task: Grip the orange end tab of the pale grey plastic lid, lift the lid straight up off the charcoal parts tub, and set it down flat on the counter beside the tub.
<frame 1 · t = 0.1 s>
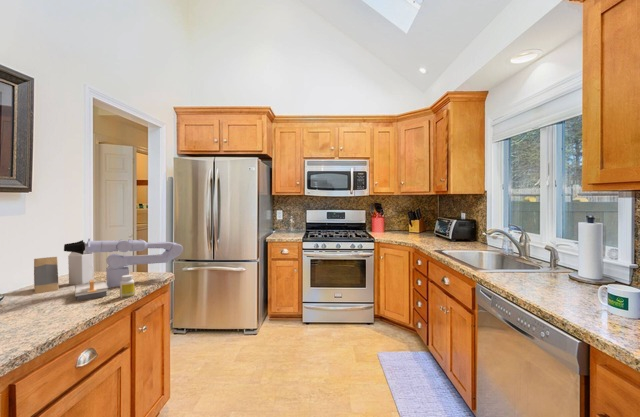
hand: (64, 247, 132), 22 cm above the table, tool horizontal, fingers open, 7 cm apart
domed metal puck: (91, 292, 132), resting on tub
milk carton: (81, 283, 150), on the table
sandwich container: (46, 290, 138), on the table
supplement bottle: (127, 298, 127), on the table
lid: (91, 288, 129), point 3 cm above the table, touching tub
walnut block: (91, 295, 127), resting on tub
tub: (91, 295, 129), on the table
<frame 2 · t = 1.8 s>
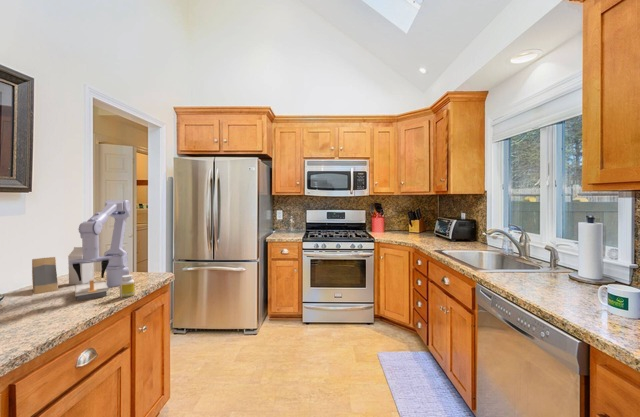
hand: (91, 279, 126), 9 cm above the table, tool pointing down, fingers open, 7 cm apart
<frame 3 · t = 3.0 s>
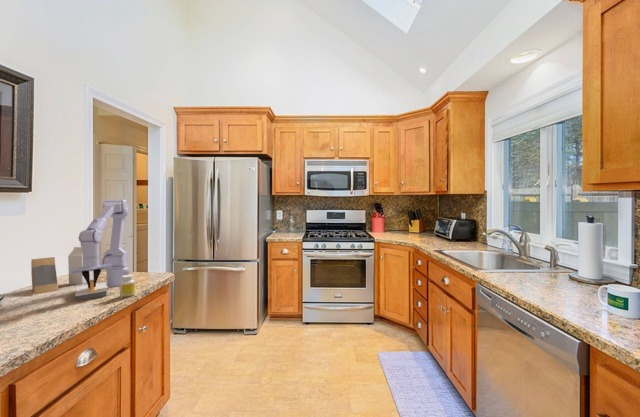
hand: (91, 287, 126), 5 cm above the table, tool pointing down, fingers closed on lid
lid: (91, 288, 129), point 3 cm above the table, touching gripper, tub
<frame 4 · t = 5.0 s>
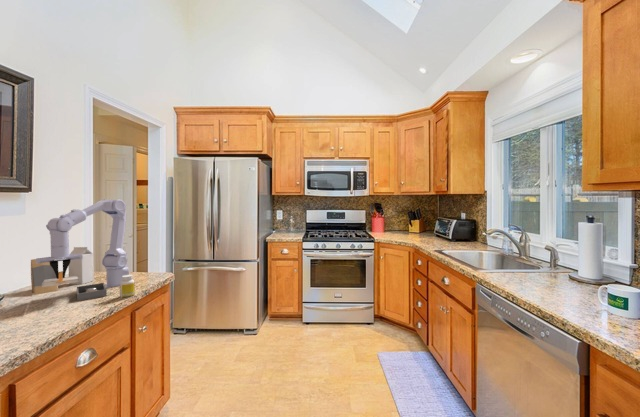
hand: (60, 278, 120), 10 cm above the table, tool pointing down, fingers closed on lid
lid: (61, 281, 124), point 8 cm above the table, tilted 6°, touching gripper
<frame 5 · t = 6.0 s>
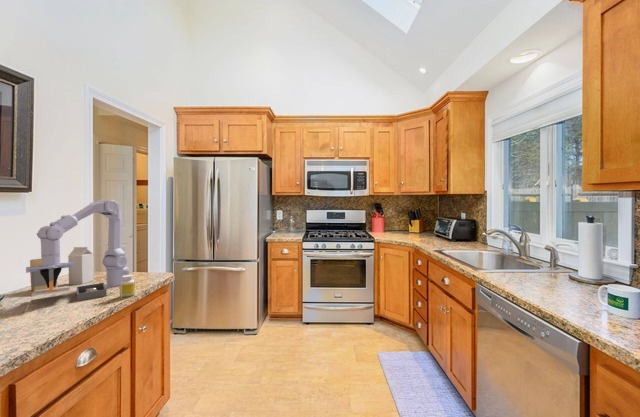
hand: (51, 286, 119), 7 cm above the table, tool pointing down, fingers closed on lid
lid: (52, 290, 122), point 5 cm above the table, tilted 10°, touching gripper
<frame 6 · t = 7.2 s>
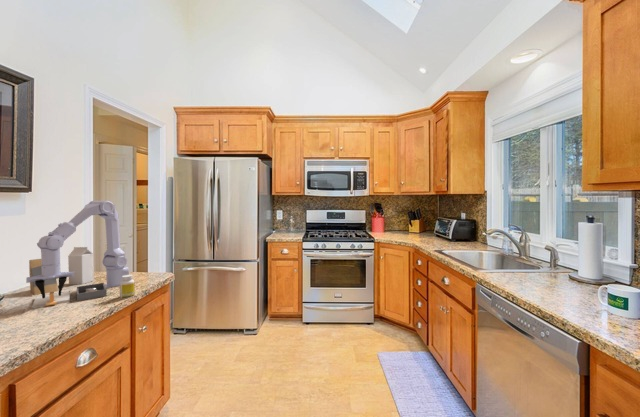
hand: (51, 296, 119), 3 cm above the table, tool pointing down, fingers open, 4 cm apart
lid: (52, 299, 122), point 1 cm above the table
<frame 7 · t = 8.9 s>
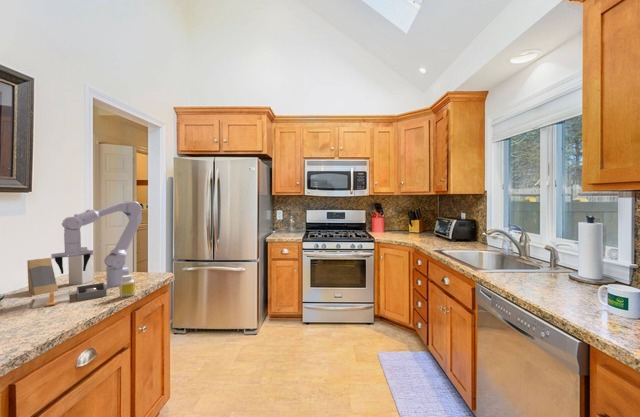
hand: (73, 272, 131), 10 cm above the table, tool pointing down, fingers open, 7 cm apart
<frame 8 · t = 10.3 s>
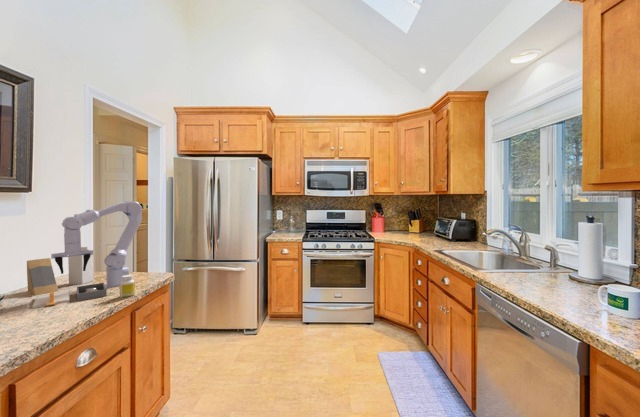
hand: (73, 272, 131), 10 cm above the table, tool pointing down, fingers open, 7 cm apart
at the end: lid inside the target area (0.4 cm from its centre), point 0.6 cm above the table; lid touching table; lid tilted 0° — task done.
